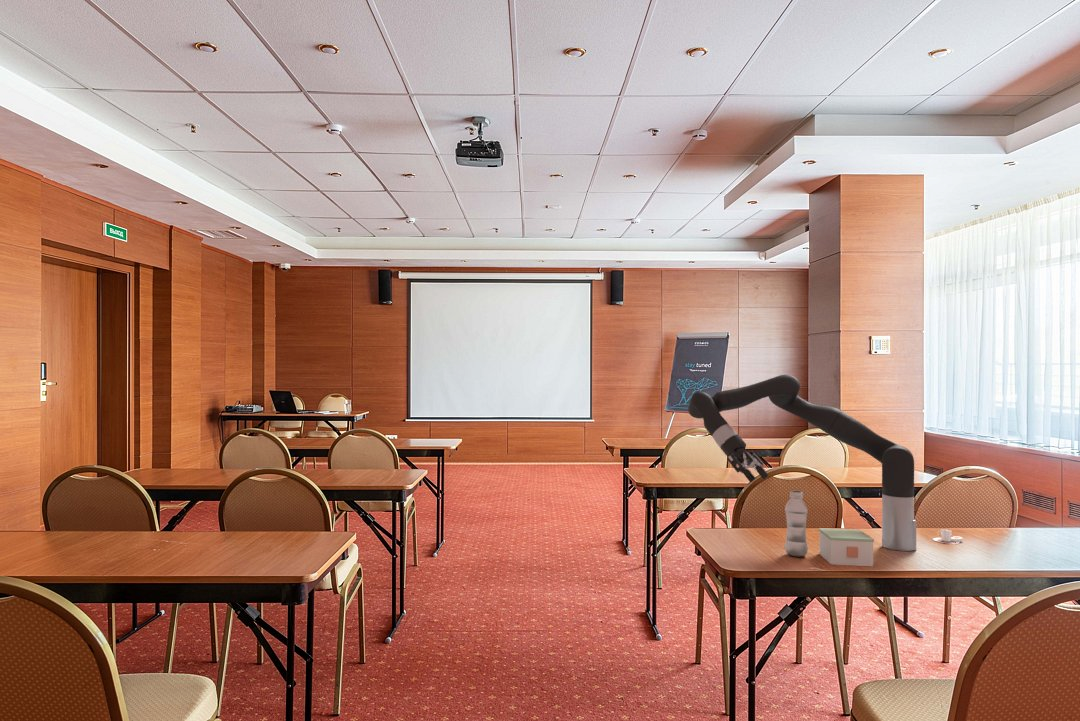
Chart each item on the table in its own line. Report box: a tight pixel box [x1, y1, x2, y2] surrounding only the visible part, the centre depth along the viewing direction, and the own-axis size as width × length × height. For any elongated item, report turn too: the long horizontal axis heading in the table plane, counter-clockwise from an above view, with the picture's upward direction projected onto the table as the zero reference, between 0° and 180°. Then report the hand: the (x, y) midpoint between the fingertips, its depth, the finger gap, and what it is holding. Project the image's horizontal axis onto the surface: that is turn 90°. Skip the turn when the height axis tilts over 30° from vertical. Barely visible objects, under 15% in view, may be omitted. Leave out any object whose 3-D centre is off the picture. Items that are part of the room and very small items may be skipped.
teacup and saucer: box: [932, 528, 964, 545], centre depth 230 cm, size 9×8×4 cm
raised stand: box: [818, 527, 875, 567], centre depth 205 cm, size 12×13×8 cm
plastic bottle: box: [784, 490, 809, 558], centre depth 209 cm, size 6×7×20 cm
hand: (760, 479), depth 218 cm, fingers open, 8 cm apart
